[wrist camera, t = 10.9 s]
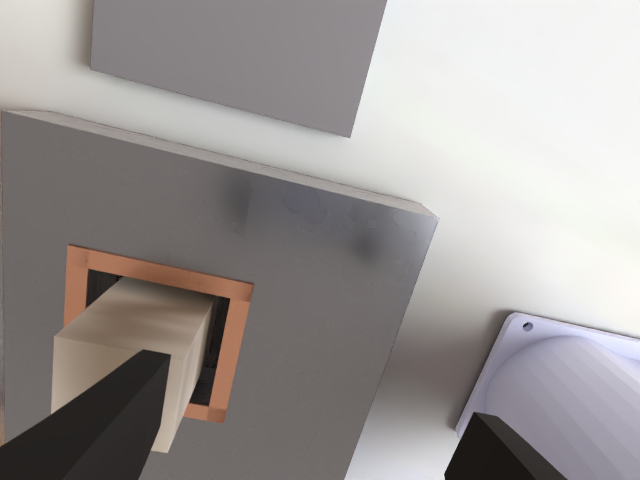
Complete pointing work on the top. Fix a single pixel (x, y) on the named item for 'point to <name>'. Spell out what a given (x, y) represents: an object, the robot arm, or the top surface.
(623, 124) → the top surface
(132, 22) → the gray square plate
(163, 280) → the hole plate
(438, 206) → the top surface
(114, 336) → the peg
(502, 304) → the top surface
